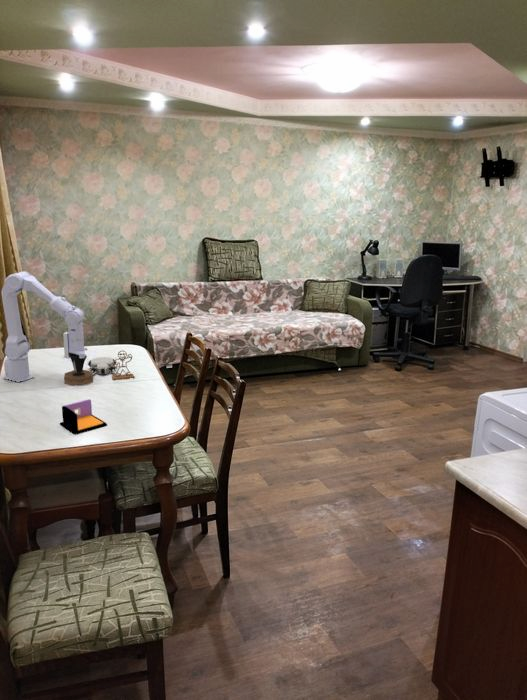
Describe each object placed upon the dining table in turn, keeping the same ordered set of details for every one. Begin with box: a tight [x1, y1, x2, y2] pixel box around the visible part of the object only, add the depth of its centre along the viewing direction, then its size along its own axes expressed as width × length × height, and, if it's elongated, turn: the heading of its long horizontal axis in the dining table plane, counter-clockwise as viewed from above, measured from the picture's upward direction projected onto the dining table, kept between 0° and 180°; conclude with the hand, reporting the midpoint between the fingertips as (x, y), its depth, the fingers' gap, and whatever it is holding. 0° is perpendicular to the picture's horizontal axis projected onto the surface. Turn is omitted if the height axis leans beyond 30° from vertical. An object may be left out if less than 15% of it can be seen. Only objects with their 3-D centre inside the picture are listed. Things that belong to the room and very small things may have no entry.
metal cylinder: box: [73, 361, 82, 376], centre depth 223 cm, size 3×3×8 cm
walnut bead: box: [63, 369, 94, 387], centre depth 224 cm, size 11×11×3 cm
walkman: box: [62, 331, 71, 359], centre depth 255 cm, size 8×3×12 cm, turn 85°
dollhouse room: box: [59, 398, 108, 436], centre depth 182 cm, size 12×12×7 cm
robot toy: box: [87, 356, 118, 375], centre depth 237 cm, size 12×4×15 cm
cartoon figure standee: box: [111, 349, 135, 381], centre depth 228 cm, size 9×4×12 cm, turn 112°
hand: (78, 370), depth 223 cm, fingers closed on metal cylinder, 3 cm apart
